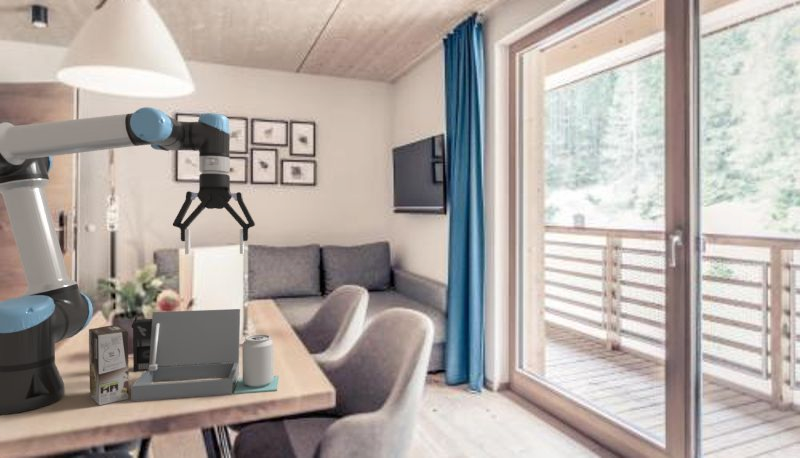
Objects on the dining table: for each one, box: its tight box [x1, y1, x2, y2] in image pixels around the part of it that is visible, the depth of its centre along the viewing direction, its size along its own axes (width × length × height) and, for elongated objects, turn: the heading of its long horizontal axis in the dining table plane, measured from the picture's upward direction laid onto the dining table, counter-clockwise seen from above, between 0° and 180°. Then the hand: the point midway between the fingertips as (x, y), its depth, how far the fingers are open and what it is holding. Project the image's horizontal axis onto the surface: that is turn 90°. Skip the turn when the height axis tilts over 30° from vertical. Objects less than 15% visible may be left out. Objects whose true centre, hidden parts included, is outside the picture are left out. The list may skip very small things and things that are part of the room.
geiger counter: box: [131, 314, 159, 373], centre depth 133 cm, size 10×4×15 cm, turn 110°
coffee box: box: [88, 324, 130, 406], centre depth 112 cm, size 9×6×16 cm
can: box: [241, 333, 274, 388], centre depth 120 cm, size 8×8×12 cm
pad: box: [233, 375, 279, 395], centre depth 120 cm, size 10×10×1 cm
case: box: [131, 308, 241, 402], centre depth 120 cm, size 22×18×17 cm
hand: (215, 253), depth 126 cm, fingers open, 13 cm apart
